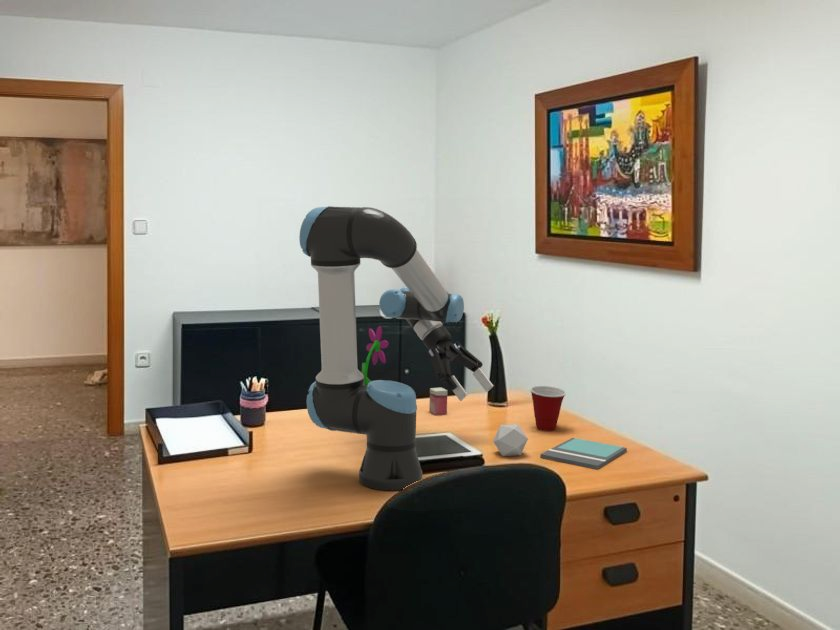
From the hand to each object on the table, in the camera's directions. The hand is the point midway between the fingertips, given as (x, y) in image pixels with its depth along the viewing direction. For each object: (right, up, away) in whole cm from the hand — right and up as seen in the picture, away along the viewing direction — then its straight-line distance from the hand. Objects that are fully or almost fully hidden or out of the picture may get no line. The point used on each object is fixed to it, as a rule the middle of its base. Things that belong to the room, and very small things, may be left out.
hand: (477, 393), depth 221 cm
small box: (-10, -10, +39) cm, 41 cm away
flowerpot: (-32, -12, +23) cm, 41 cm away
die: (+8, -16, -4) cm, 19 cm away
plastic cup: (+22, -13, +22) cm, 34 cm away
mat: (+28, -16, -4) cm, 33 cm away
